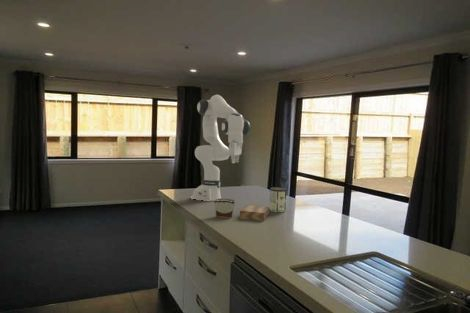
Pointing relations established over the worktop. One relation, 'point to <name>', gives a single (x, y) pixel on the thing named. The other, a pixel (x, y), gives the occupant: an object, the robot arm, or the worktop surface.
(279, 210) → the coffee can
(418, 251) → the worktop surface
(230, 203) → the food container
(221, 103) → the robot arm
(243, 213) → the walnut block
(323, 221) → the worktop surface
